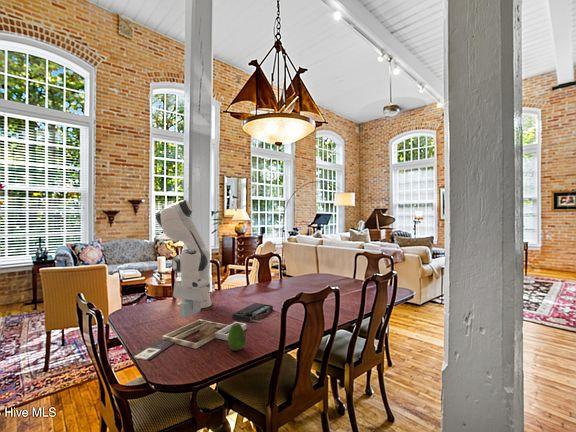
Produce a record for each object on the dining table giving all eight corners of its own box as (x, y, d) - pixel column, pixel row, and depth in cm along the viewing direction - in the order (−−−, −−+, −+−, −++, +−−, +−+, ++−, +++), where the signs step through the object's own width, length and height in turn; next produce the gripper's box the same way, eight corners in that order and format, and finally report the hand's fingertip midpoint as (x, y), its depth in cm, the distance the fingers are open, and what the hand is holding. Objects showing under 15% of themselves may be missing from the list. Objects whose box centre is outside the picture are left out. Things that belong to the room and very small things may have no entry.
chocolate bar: (175, 341, 145) (149, 359, 127) (175, 343, 145) (149, 361, 127) (159, 339, 147) (131, 356, 130) (159, 341, 147) (131, 358, 130)
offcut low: (195, 340, 149) (195, 335, 149) (208, 333, 158) (208, 328, 158) (204, 342, 147) (204, 337, 147) (216, 334, 156) (216, 329, 156)
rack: (162, 340, 148) (162, 335, 148) (199, 322, 171) (199, 319, 171) (195, 348, 139) (195, 344, 139) (230, 329, 162) (230, 325, 162)
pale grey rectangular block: (179, 317, 153) (179, 303, 153) (196, 310, 164) (195, 297, 164) (184, 318, 152) (184, 304, 152) (200, 310, 163) (200, 297, 163)
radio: (255, 301, 201) (282, 305, 191) (255, 307, 201) (282, 312, 192) (231, 312, 178) (261, 317, 169) (231, 319, 178) (261, 325, 169)
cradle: (215, 337, 151) (215, 332, 151) (235, 326, 166) (235, 321, 166) (226, 340, 148) (226, 335, 148) (246, 328, 163) (246, 323, 163)
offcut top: (199, 334, 150) (199, 329, 150) (206, 329, 157) (206, 324, 156) (208, 335, 149) (208, 330, 149) (214, 330, 156) (214, 325, 156)
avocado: (224, 351, 136) (224, 324, 136) (236, 344, 143) (236, 319, 143) (237, 356, 132) (237, 328, 132) (249, 349, 138) (249, 322, 138)
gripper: (170, 280, 159) (170, 307, 159) (201, 284, 151) (202, 312, 151) (179, 278, 165) (179, 304, 165) (210, 281, 157) (210, 308, 157)
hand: (190, 308), depth 158 cm, fingers closed on pale grey rectangular block, 3 cm apart
